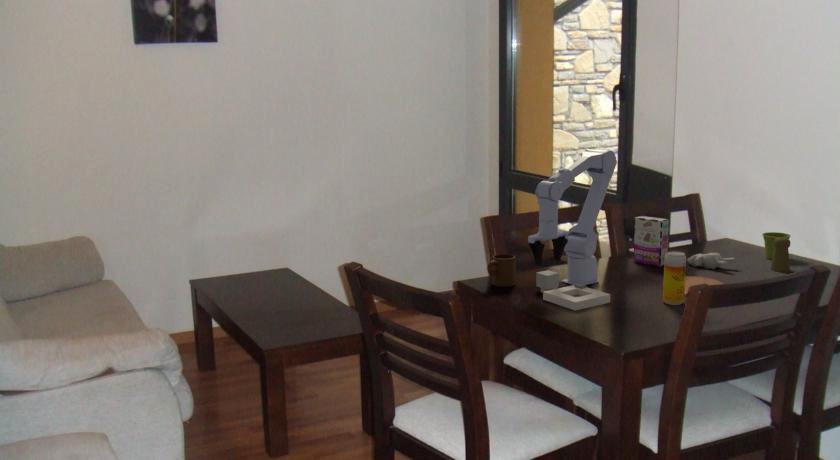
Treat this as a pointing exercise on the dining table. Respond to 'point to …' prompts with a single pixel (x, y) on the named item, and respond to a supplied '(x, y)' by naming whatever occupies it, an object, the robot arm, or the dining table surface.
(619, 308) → the dining table surface
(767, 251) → the plant pot
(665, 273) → the yellow supplement bottle
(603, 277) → the dining table surface
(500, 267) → the mug
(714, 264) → the bunny figurine
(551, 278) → the plug
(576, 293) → the socket
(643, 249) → the candy bar box
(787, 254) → the olive tall rounded piece
